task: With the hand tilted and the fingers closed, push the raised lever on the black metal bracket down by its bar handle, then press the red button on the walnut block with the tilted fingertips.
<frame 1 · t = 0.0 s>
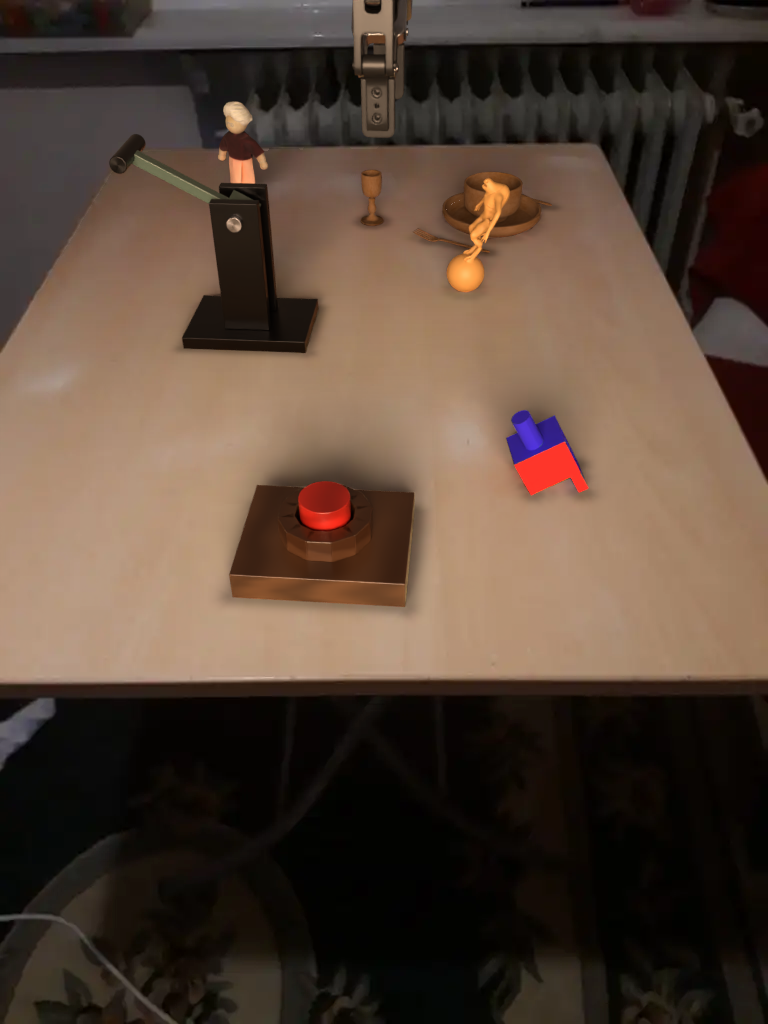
hand: (384, 116, 67), 25 cm above the table, tool pointing down, fingers open, 8 cm apart
place setting: (460, 217, 117), on the table
figurine: (474, 291, 101), on the table
button: (324, 506, 66), point 4 cm above the table, slide at 0.1 cm
grandmother figurine: (246, 208, 120), on the table
button block: (327, 554, 69), on the table
bracket: (253, 328, 95), on the table
lever: (188, 184, 86), point 14 cm above the table, hinge at 28.0°
toy building block: (543, 482, 76), on the table
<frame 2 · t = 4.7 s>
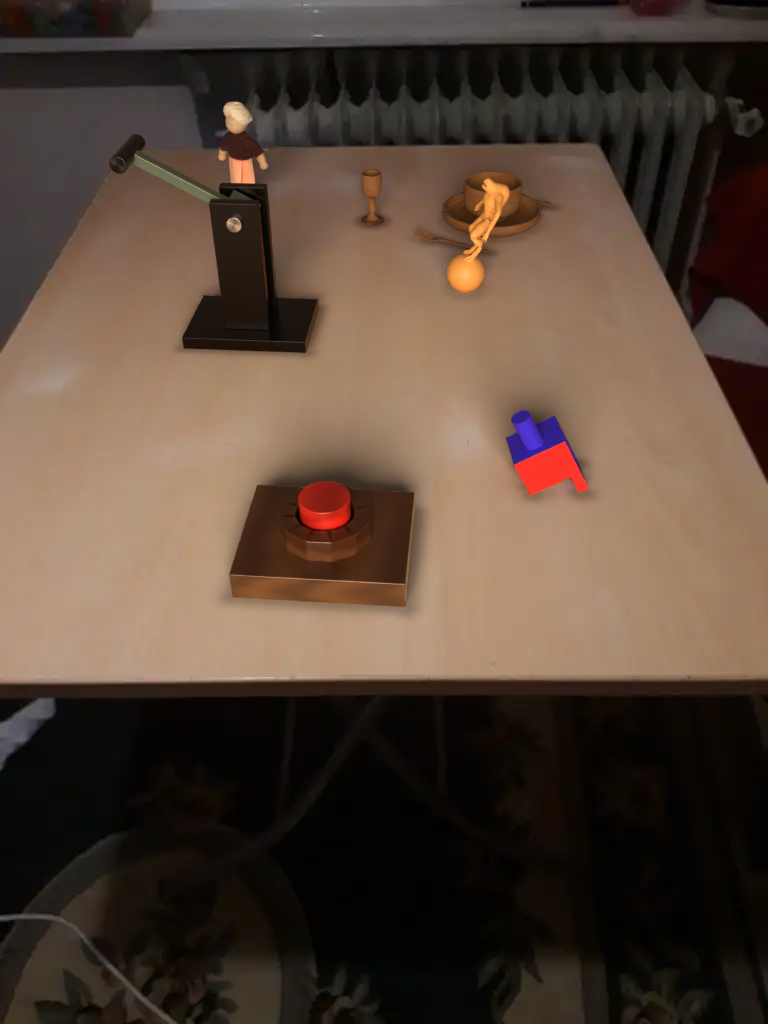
nothing on the table moved.
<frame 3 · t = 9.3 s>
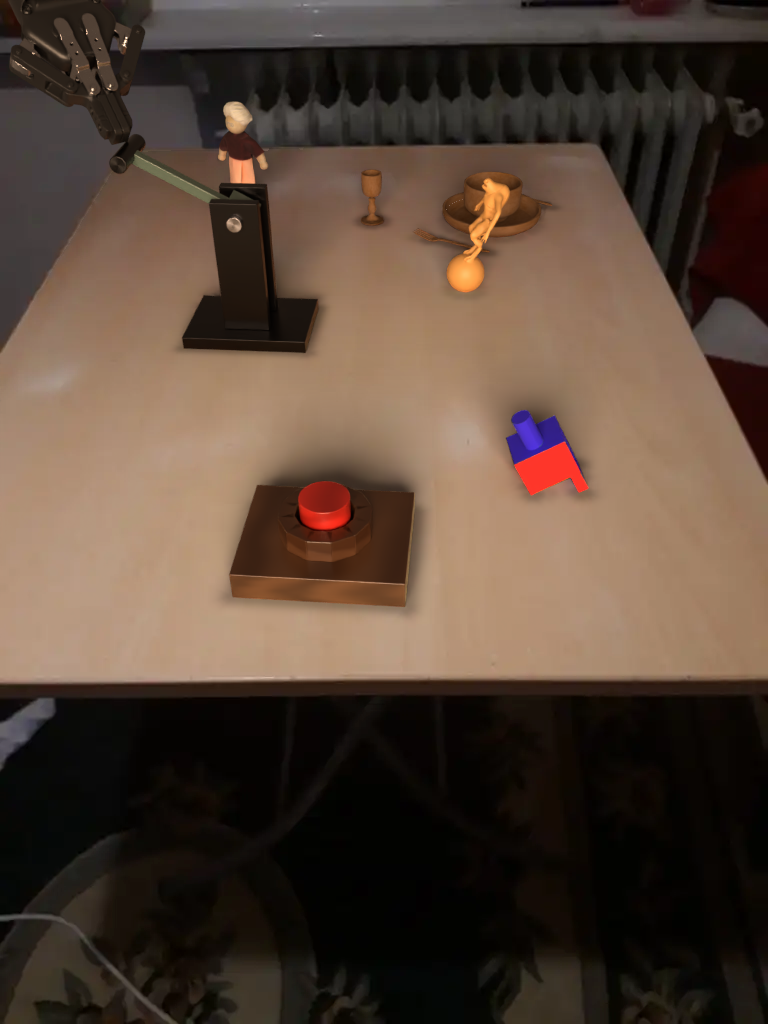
hand: (121, 138, 84), 18 cm above the table, tool tilted 45°, fingers closed
lever: (188, 184, 86), point 14 cm above the table, hinge at 28.0°, touching gripper
everything else where it was.
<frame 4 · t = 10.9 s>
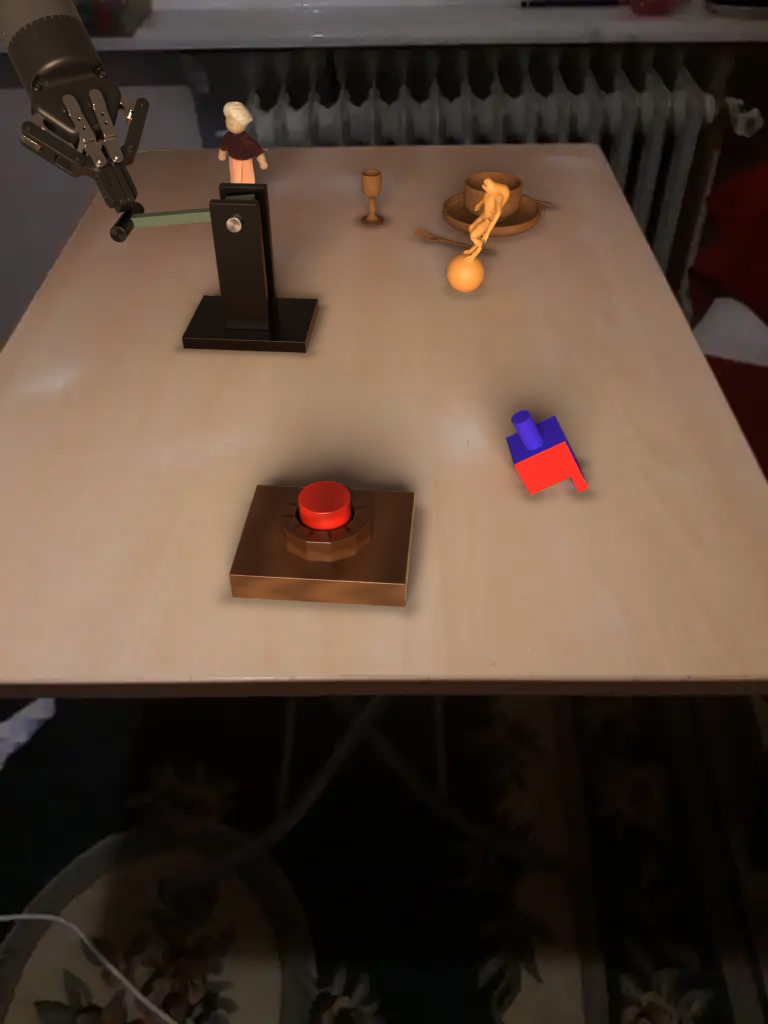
hand: (126, 207, 88), 12 cm above the table, tool tilted 45°, fingers closed
lever: (186, 216, 88), point 11 cm above the table, hinge at -6.3°, touching gripper
everything else where it was.
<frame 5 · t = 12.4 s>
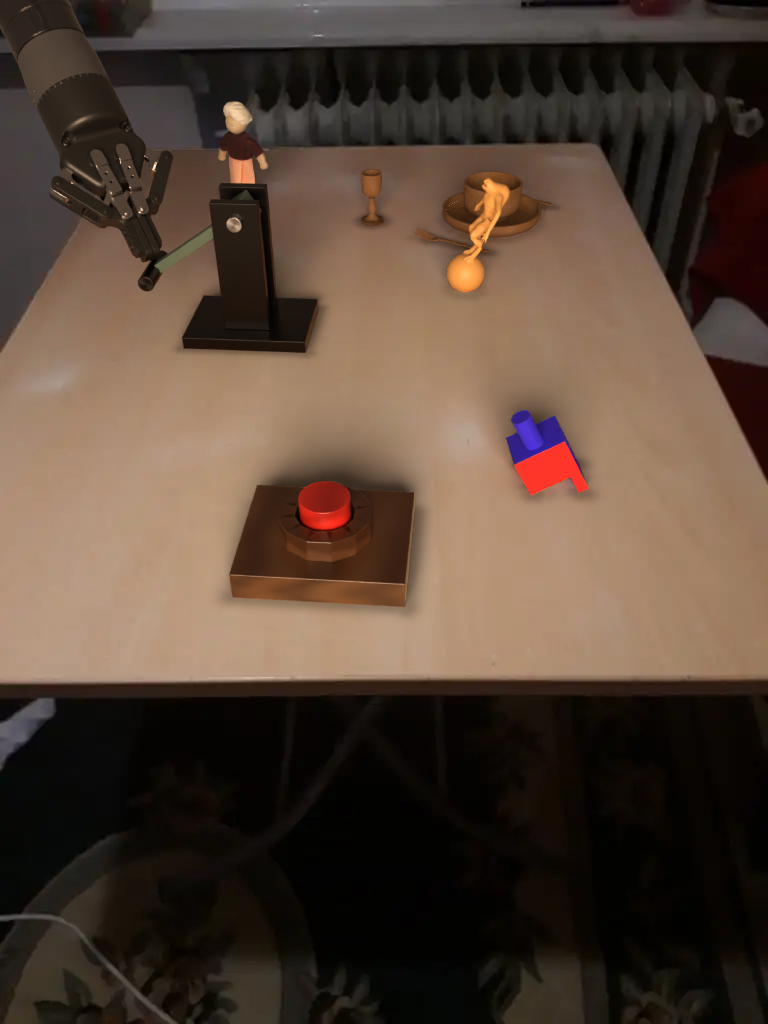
hand: (152, 257, 91), 7 cm above the table, tool tilted 45°, fingers closed
lever: (198, 240, 90), point 9 cm above the table, hinge at -33.5°, touching gripper
everything else where it was.
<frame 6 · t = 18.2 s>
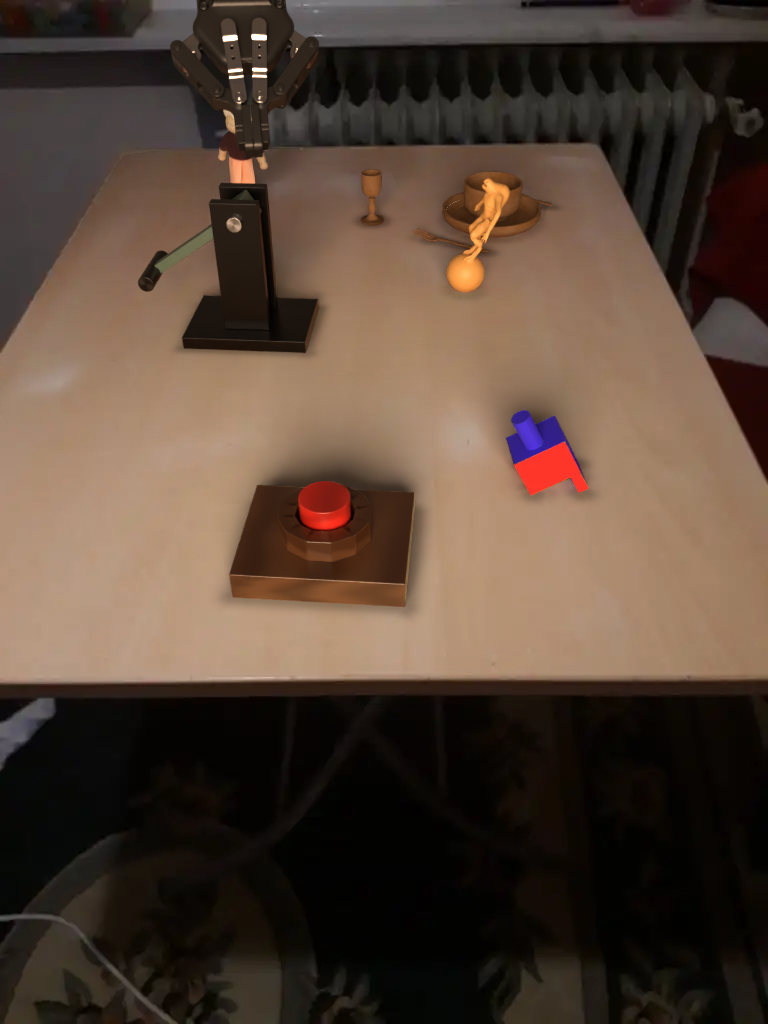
hand: (254, 153, 79), 19 cm above the table, tool tilted 45°, fingers closed
lever: (198, 240, 90), point 9 cm above the table, hinge at -33.6°
everything else where it was.
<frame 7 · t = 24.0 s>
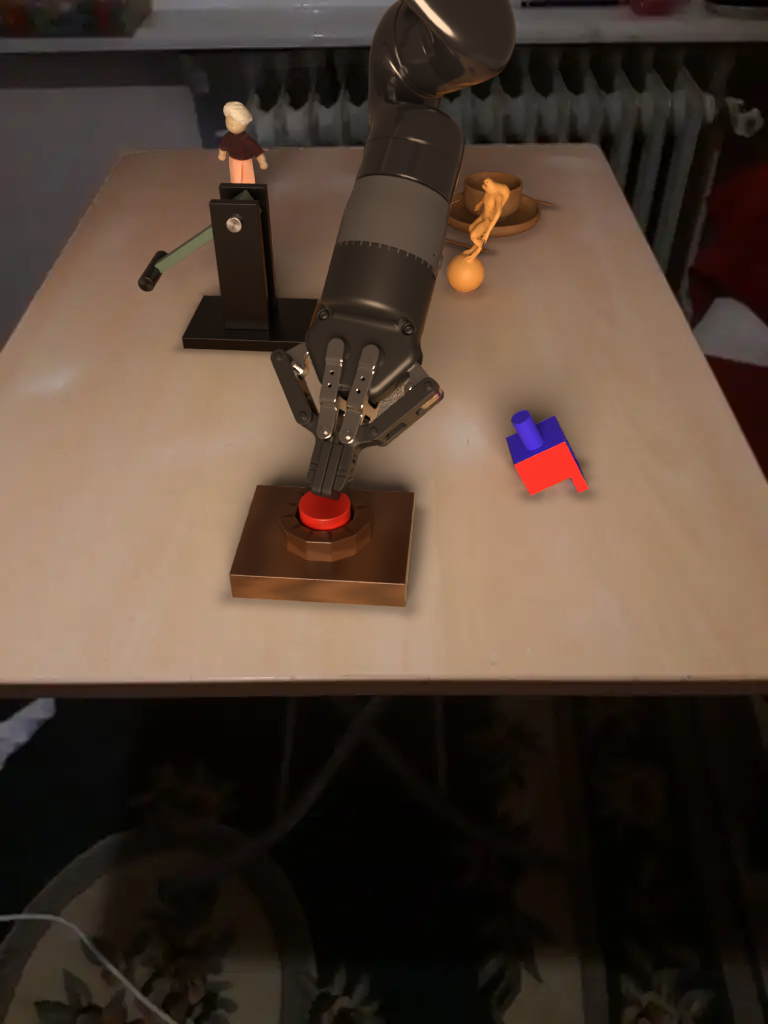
hand: (325, 497, 65), 5 cm above the table, tool tilted 45°, fingers closed
button: (325, 512, 66), point 4 cm above the table, slide at -0.5 cm, touching gripper
everything else where it was.
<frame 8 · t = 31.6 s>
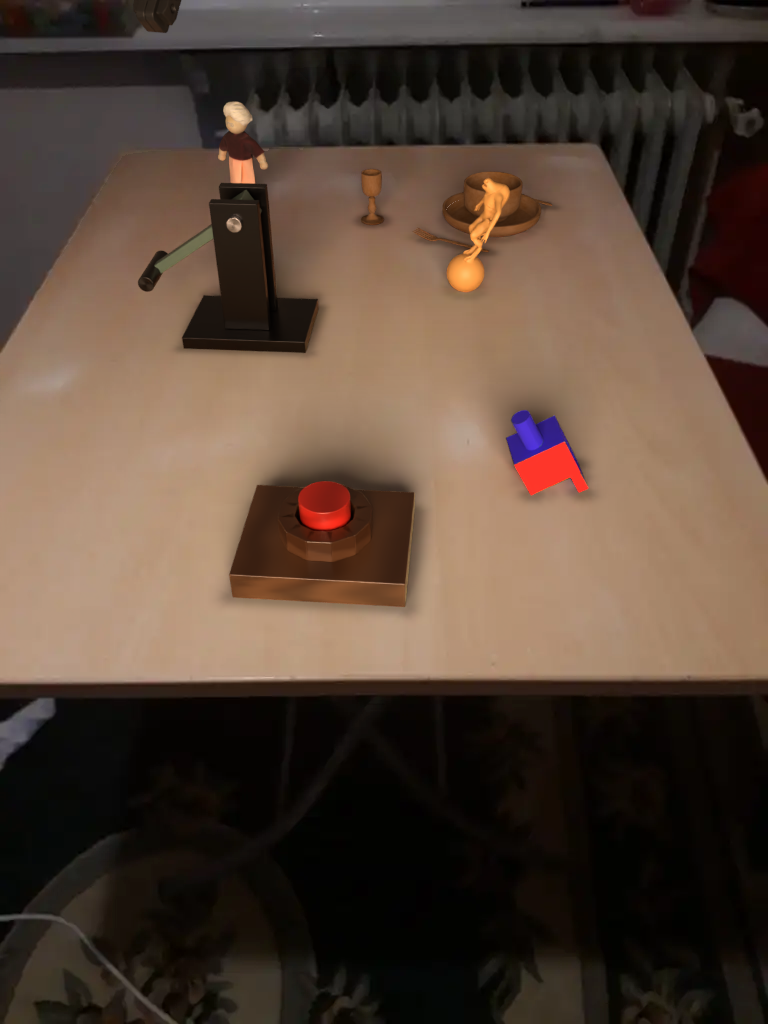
hand: (151, 25, 69), 30 cm above the table, tool tilted 45°, fingers closed
button: (324, 506, 66), point 4 cm above the table, slide at 0.1 cm
everything else where it was.
at the end: lever at -34° (first picture: +28°); button pushed in 1.3 cm at the most during the clip, back to where it started at the end; button slide at 0.1 cm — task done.
